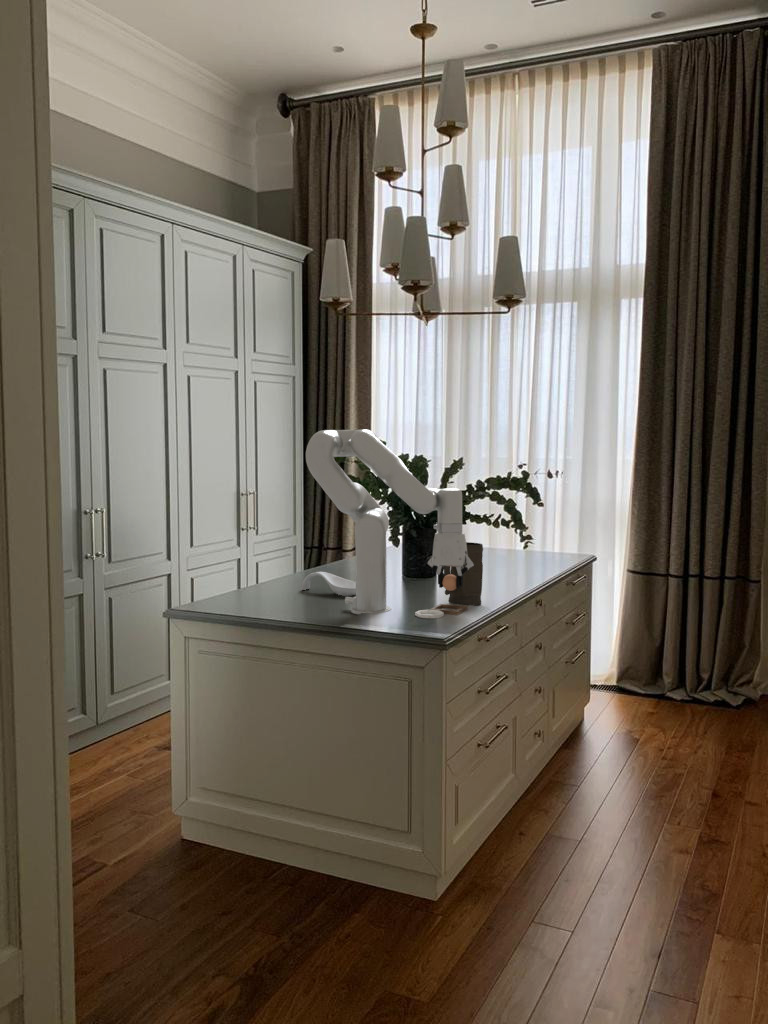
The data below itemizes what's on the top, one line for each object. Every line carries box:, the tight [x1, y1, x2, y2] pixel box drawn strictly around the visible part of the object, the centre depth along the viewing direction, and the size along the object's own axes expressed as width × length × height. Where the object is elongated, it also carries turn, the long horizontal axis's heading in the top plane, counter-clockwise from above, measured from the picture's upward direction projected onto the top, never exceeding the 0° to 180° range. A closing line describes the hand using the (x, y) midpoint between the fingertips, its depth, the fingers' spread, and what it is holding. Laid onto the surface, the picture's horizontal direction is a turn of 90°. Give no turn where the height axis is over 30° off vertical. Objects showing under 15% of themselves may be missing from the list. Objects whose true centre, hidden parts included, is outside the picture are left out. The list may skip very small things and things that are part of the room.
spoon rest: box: [300, 571, 356, 597], centre depth 318 cm, size 24×12×7 cm, turn 62°
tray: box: [429, 603, 468, 616], centre depth 283 cm, size 9×9×2 cm
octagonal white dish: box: [414, 609, 445, 619], centre depth 276 cm, size 8×8×2 cm
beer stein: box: [443, 541, 484, 606], centre depth 297 cm, size 15×11×20 cm
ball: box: [442, 573, 456, 591], centre depth 283 cm, size 5×5×5 cm
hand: (450, 586), depth 283 cm, fingers closed on ball, 4 cm apart
